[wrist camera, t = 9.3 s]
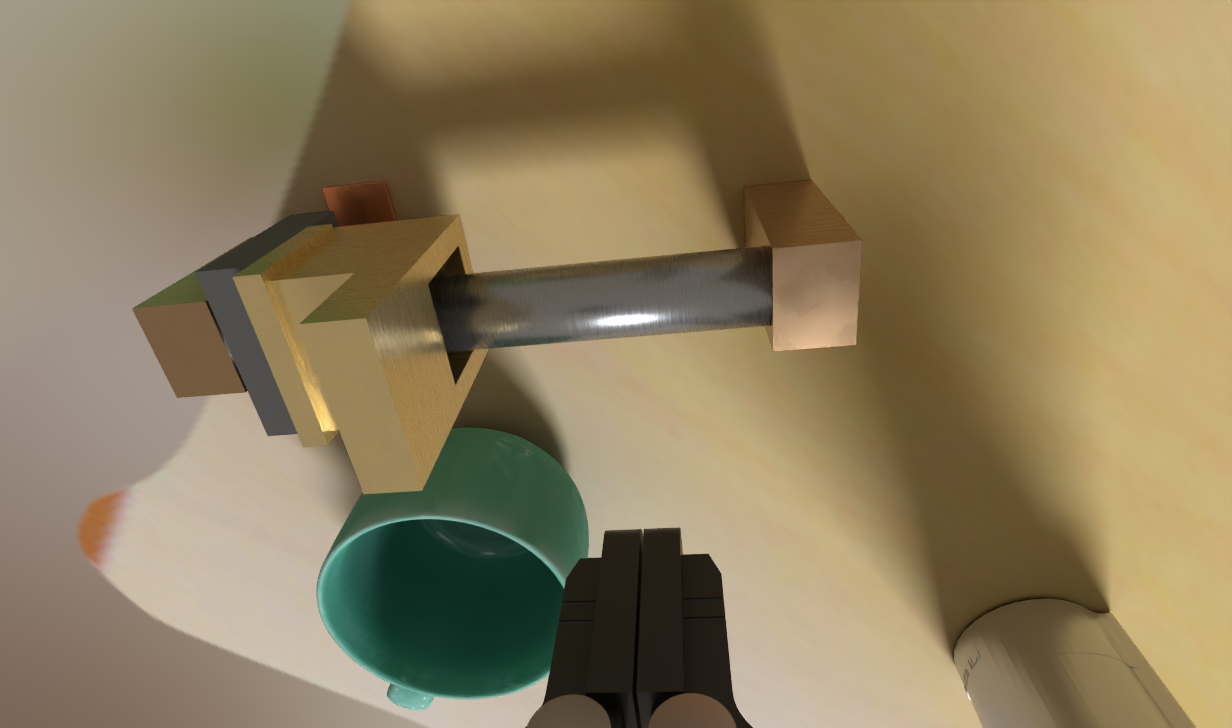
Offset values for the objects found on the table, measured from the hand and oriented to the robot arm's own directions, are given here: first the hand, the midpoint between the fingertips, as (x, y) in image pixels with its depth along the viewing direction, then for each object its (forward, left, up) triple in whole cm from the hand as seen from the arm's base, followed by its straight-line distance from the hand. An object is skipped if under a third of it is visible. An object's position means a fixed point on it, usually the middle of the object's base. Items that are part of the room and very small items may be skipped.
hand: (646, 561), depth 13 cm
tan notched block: (+11, 0, -17) cm, 20 cm away
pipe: (+6, 0, -21) cm, 22 cm away
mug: (+12, +16, -21) cm, 29 cm away
